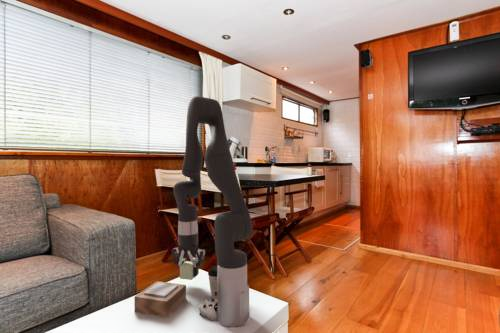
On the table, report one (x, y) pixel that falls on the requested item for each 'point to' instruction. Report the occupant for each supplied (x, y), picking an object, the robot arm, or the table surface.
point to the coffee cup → (213, 282)
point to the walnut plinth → (160, 298)
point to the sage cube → (186, 270)
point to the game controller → (209, 309)
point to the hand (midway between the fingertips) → (188, 275)
